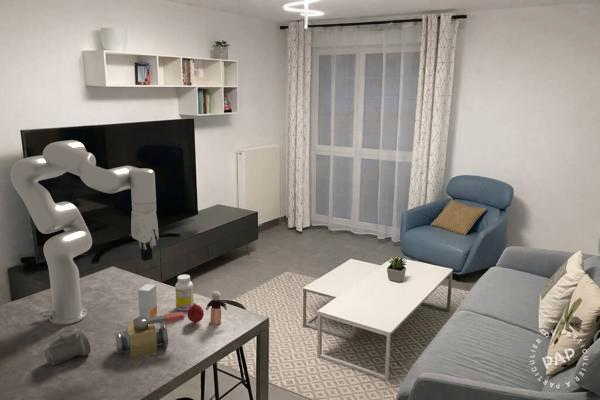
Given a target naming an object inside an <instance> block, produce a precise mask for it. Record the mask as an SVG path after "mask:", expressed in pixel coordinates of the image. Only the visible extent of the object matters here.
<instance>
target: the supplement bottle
mask: <svg viewBox="0 0 600 400" xmlns="http://www.w3.org/2000/svg"><path fill="white" fill-rule="evenodd" d="M193 283H194V282H192V281H191V276H190V274H180V275H178V276H177V282H176V283H175V306H176V309H177V310H178V311H180V312H183V311H184V312H185V311H186V312H187V311H188V310H189V308H190V307H191V306H193V304H194V303H195V302H194V300H195V299H194V284H193Z"/></svg>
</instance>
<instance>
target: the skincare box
mask: <svg viewBox="0 0 600 400" xmlns="http://www.w3.org/2000/svg"><path fill="white" fill-rule="evenodd" d="M137 294H138V315H139V316H138V317H147V318H153V317H157V315H158V302H157V301H158V299H157V298H158V297H157V284H152V283H146V284H144V285H143V286H141V287H140V288H139V289H138V292H137Z"/></svg>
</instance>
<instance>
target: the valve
mask: <svg viewBox="0 0 600 400" xmlns="http://www.w3.org/2000/svg"><path fill="white" fill-rule="evenodd" d="M126 329H127V330H126V331H127V334H122V333H121V331H120V332H116V333H115V345H116V353H117V356H122V355H123V353H124V352H125V351H129V354H130V355H129V356H130V358H131V359H133V358H140V357H143V356H149V355H153V354H157V353H158V345H162V347H163V348H165V347H168V346H169V337H168V336H169V335H168V329H167V326H166V323H165V324H160V326H159V328H156V327H155V323H154V324H149V326H148V327H147V328H145V329H142V330H137V329H134V324H133V322H130V323H128V322H127V323H126Z"/></svg>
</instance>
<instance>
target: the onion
mask: <svg viewBox="0 0 600 400" xmlns="http://www.w3.org/2000/svg"><path fill="white" fill-rule="evenodd" d="M186 315H187V319H188V320H189V321H190V322H191V323H194V324H197V323H199V322H200V321H202V320H203V318H204V315H205V311H204V309H203V308H202V306H200V305H198V304H197V303H196V302H194V304H193V306H191V307H190V308H189V310H187V311H186Z"/></svg>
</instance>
